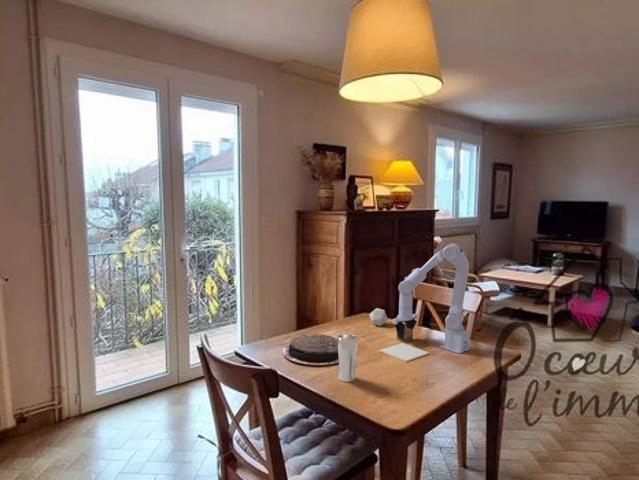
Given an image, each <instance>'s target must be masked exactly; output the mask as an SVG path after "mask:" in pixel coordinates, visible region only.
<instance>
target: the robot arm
mask: <svg viewBox="0 0 639 480" xmlns="http://www.w3.org/2000/svg"><path fill="white" fill-rule="evenodd" d="M464 251H465V250H464V249H463V248H462V247H461V246H460V245H459V244H457V243H452V242H451V243H449V244H448V245H447V246H445V247H443V249H442V248H441V250H439V251H438V252H436V253H435V254H434V255H433V256H432V257H431V258H430V259H429V260H428V261H427V262H425V264H424V265H422V267H416V268H413V269H412V270H411V273H410V274H408V275H407V276H405V277H404V278H403V279H404V280H403V281H400V282H399V284H398V287H397V289H398V292H399V300H398V314H397V316H396V317H395V318H392V324H393V325H394V327H395V330H396V335H397V334H398V338H400V339H403V335H404V329H405V327H407V328H410V329H413V330H414V329H415V326H416V324H417V323H418V321H417V320H418V318H419V317H418V316H419V315H418V314H417V313H413V299H414V298H413V292H414V290H415V288H417V287H418V286H419V285H420V284H421V283H422V282H423V281H425V279H427V273H428V272H430V271H431V270H433V268H434V267H435V266H437V264H439V263H441V262H445V261H448V262H449V263H451V264H452V265H453V266H454V268H456V269H455V270H456V271H455V276H454V284H453V290H452V295H451V296H452V297H451V301H450V307H449V311H448V314H447V316H446V317H445V320H444V323H445V330H444V343H443V344H442V345H440V346H439V347H440V348H442V349H445V350H447V351H451V352H453V353H456V354H462V353H465V352H466V351H467V352H468V351H469V350H471V348H470V337H471V335H470V332H469V331H467V330H466V329H464V326H463V321H465V320H464V319H465V316H464V312H463V311H464V301H465V293H466V288H467V283H468V276H469V270H470V262H469V261H468V259H467V257H466V254H465V252H464ZM464 351H465V352H464Z"/></svg>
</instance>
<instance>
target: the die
mask: <svg viewBox="0 0 639 480" xmlns="http://www.w3.org/2000/svg"><path fill="white" fill-rule="evenodd" d="M369 318H370V321H371V323H372V325H375V326H378V327H381V326H383V325H384V324H385V323H386V322H387V321H388V319H389V318H388V316H387V314H386V311H385V309H381V308H379V307H376V308H374V310H373V311H371V312H370V313H369Z"/></svg>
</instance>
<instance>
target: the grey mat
mask: <svg viewBox="0 0 639 480" xmlns="http://www.w3.org/2000/svg"><path fill="white" fill-rule="evenodd" d="M379 352H380V353H383V354H386V355H388V356H389V357H393V358H395V359H398V360H400V361H402V362H404V363H407V362H410V361H412V360H416V359H419V358H422V357H424V356H427V355H429V354H430V353H429V351H425V350H423V349H420V348H418V347H416V346H412V345H409V344H407V343H404V342H401V343H397V344H394V345H391V346H388V347H385V348H382V349H379Z"/></svg>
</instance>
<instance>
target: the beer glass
mask: <svg viewBox="0 0 639 480" xmlns="http://www.w3.org/2000/svg"><path fill="white" fill-rule="evenodd" d="M357 338H358V337H357V335H355V334H352V333H341V334H339V335H338V336H337V340H338V343H337V354H338V360H339V364H338V366H339V367H338V368H339V370H338V374H337V378H338V380H339V381H341V382H344V383H350V382H354V381H355V380H356V372H355V367H356V366H355V365H356V360H357V356H358V355H357V354H358V339H357Z"/></svg>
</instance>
